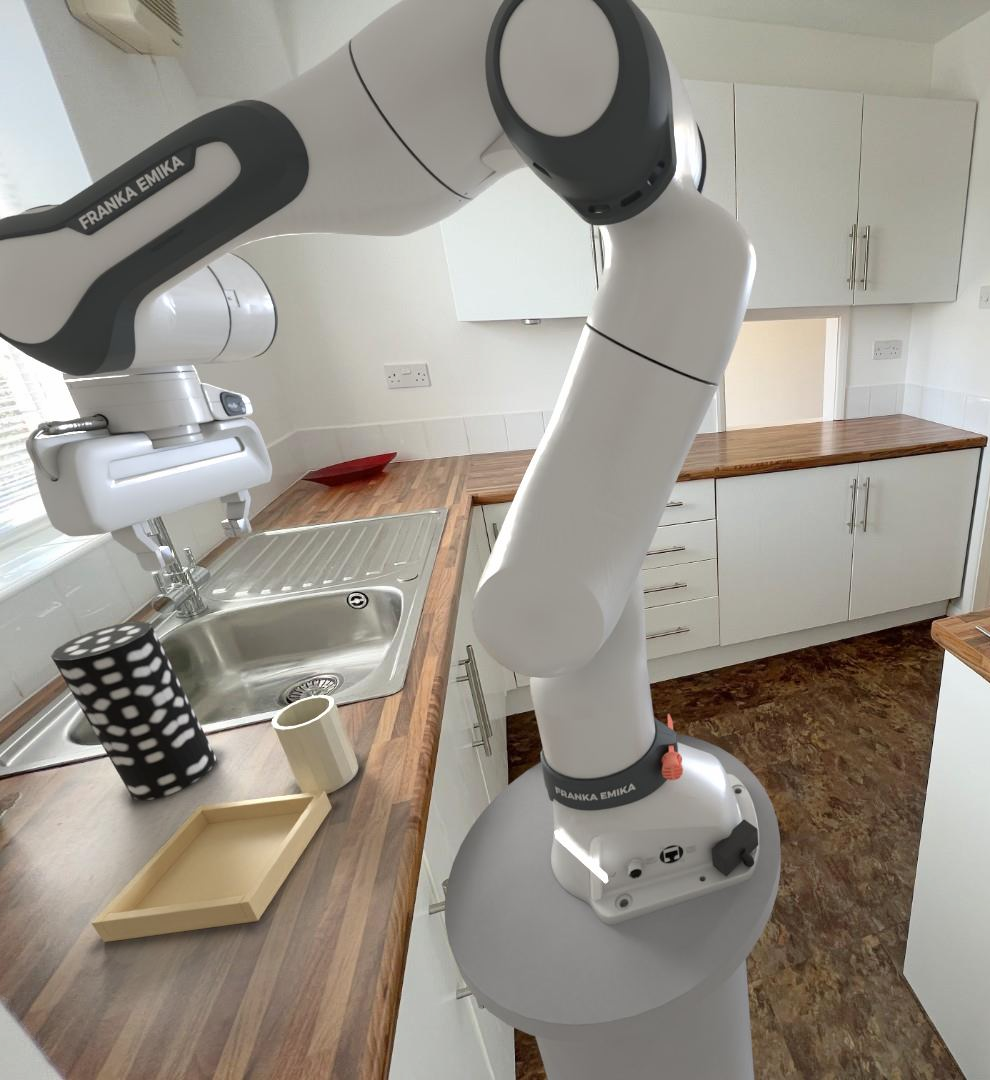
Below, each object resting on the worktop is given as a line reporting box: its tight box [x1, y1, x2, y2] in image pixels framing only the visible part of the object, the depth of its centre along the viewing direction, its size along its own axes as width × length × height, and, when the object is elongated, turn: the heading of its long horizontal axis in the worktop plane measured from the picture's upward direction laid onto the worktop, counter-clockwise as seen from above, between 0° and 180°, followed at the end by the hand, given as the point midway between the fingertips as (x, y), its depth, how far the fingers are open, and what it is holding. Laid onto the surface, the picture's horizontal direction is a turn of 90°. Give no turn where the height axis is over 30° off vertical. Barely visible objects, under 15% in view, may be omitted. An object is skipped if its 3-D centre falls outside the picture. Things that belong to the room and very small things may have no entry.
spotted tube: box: [50, 621, 217, 801], centre depth 71 cm, size 8×8×20 cm
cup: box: [271, 694, 359, 795], centre depth 70 cm, size 6×6×10 cm
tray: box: [91, 791, 332, 943], centre depth 60 cm, size 14×14×3 cm
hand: (203, 550), depth 58 cm, fingers open, 8 cm apart
